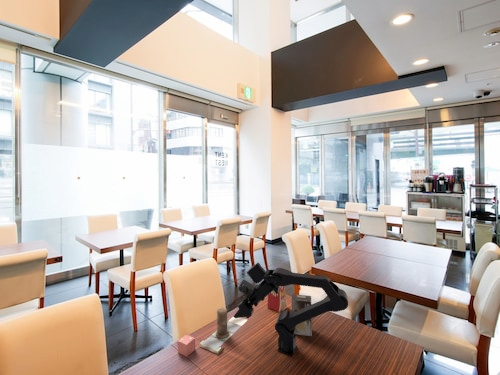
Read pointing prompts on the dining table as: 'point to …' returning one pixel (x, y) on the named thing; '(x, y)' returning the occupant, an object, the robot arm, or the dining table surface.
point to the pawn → (222, 324)
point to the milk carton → (277, 300)
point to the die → (186, 345)
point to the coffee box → (298, 304)
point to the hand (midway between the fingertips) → (237, 311)
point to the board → (215, 343)
